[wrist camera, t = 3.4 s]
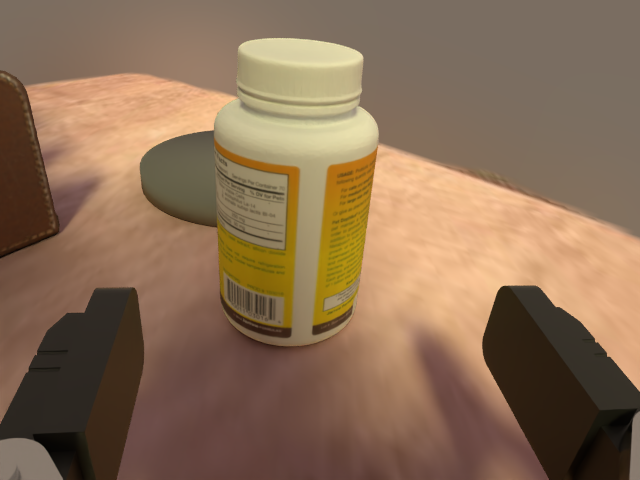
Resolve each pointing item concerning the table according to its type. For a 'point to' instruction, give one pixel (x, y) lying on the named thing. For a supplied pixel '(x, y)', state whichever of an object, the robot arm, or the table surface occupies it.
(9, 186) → the letter holder
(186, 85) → the table surface
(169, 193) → the coaster
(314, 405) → the table surface
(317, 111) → the supplement bottle
